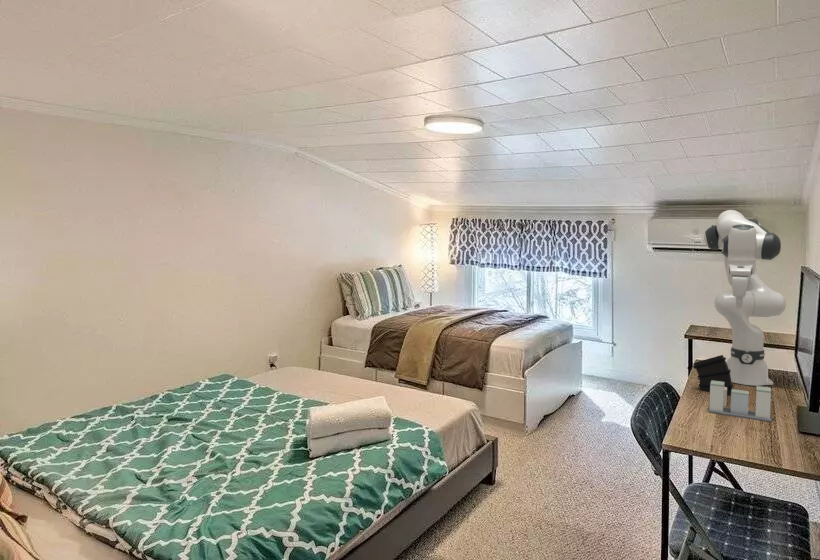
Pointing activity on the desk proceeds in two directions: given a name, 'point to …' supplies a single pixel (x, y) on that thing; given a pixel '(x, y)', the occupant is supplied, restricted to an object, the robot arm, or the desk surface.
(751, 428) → the desk surface
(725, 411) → the rail plate
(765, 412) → the block
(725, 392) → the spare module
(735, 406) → the block
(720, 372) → the black ridged block
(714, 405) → the block
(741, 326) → the robot arm
